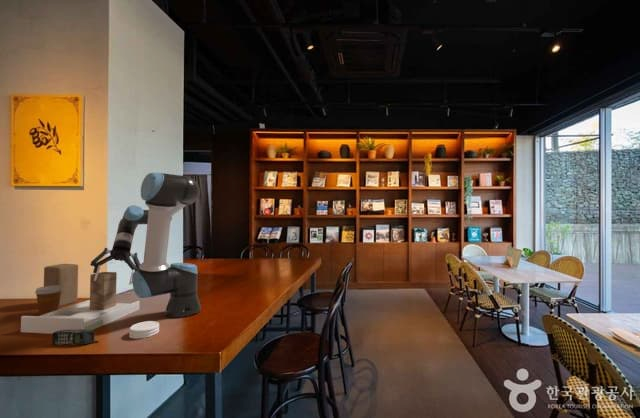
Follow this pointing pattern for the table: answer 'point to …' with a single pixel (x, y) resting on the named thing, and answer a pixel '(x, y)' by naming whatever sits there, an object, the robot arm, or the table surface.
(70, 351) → the table surface
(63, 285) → the wooden block
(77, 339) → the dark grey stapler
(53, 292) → the disposable coffee cup
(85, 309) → the board
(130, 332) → the coaster
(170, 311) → the robot arm
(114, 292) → the walnut block
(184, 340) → the table surface
